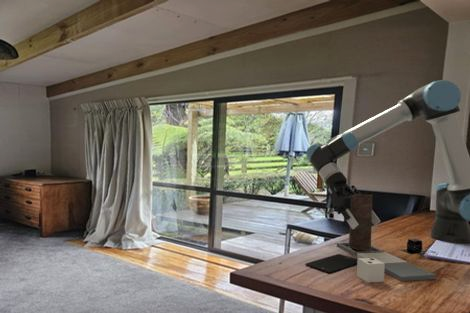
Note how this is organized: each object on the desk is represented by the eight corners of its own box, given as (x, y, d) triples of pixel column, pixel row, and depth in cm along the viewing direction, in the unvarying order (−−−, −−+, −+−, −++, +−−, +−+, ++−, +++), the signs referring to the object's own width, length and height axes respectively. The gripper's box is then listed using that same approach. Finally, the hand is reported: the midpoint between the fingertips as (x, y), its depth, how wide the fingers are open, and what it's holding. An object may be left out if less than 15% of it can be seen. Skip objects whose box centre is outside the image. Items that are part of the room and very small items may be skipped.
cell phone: (363, 263, 110) (363, 260, 110) (329, 275, 98) (329, 272, 98) (338, 256, 116) (338, 253, 116) (304, 266, 105) (304, 263, 105)
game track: (363, 245, 130) (363, 242, 130) (435, 278, 97) (435, 274, 97) (336, 246, 128) (336, 242, 127) (401, 281, 94) (401, 276, 94)
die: (372, 275, 99) (373, 257, 99) (383, 281, 94) (384, 263, 94) (356, 276, 97) (357, 257, 97) (367, 282, 93) (368, 263, 93)
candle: (363, 254, 118) (366, 195, 117) (344, 249, 123) (346, 193, 123) (374, 251, 123) (377, 194, 122) (355, 246, 128) (357, 192, 128)
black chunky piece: (409, 256, 119) (410, 243, 119) (392, 250, 126) (393, 238, 126) (435, 254, 124) (436, 241, 124) (418, 248, 131) (418, 236, 130)
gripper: (346, 182, 142) (379, 227, 130) (305, 184, 128) (337, 235, 116) (358, 170, 138) (393, 216, 125) (317, 171, 124) (352, 222, 111)
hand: (366, 225), depth 121 cm, fingers open, 12 cm apart
